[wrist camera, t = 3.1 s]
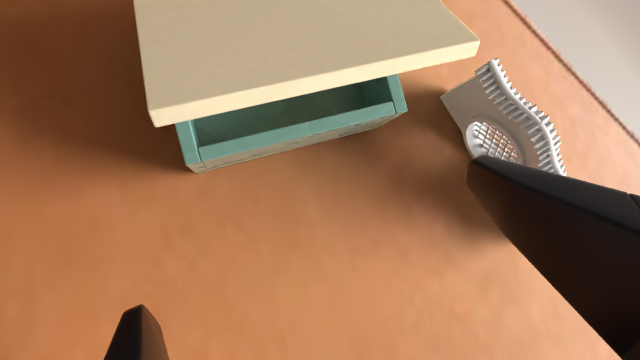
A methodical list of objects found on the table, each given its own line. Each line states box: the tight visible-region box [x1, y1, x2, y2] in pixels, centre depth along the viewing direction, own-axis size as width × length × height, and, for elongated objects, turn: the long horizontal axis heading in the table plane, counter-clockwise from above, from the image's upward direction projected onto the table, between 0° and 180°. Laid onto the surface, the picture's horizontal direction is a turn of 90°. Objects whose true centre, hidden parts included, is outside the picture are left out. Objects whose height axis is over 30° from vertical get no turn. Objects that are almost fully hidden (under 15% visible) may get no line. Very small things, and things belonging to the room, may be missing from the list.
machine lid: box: [133, 0, 480, 127], centre depth 16 cm, size 11×11×1 cm
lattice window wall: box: [440, 58, 567, 176], centre depth 24 cm, size 12×2×6 cm, turn 34°
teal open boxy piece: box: [174, 74, 408, 174], centre depth 22 cm, size 9×11×5 cm
